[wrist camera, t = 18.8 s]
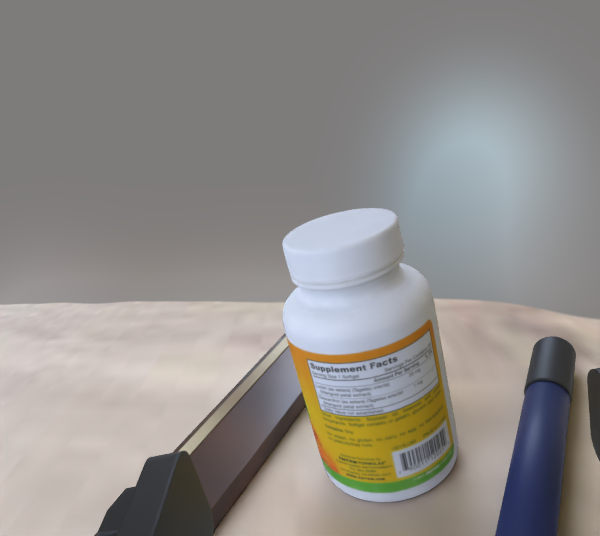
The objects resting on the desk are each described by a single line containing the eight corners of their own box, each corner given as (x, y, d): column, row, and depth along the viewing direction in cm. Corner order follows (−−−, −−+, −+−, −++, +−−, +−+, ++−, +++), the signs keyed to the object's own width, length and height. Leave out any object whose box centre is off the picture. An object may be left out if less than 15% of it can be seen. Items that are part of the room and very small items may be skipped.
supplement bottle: (345, 409, 25) (295, 211, 21) (465, 413, 22) (430, 192, 19) (305, 499, 20) (233, 266, 17) (451, 516, 18) (401, 249, 14)
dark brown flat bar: (177, 581, 18) (169, 562, 18) (100, 551, 20) (92, 534, 20) (362, 328, 31) (359, 316, 31) (304, 326, 33) (300, 314, 33)
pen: (546, 710, 12) (540, 662, 12) (471, 683, 13) (462, 637, 13) (577, 361, 24) (575, 328, 23) (536, 359, 25) (533, 327, 24)
